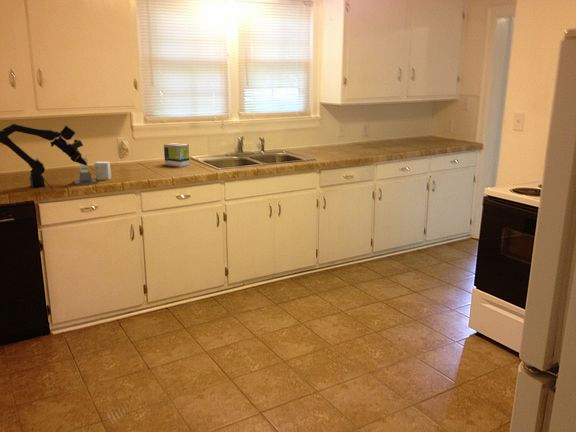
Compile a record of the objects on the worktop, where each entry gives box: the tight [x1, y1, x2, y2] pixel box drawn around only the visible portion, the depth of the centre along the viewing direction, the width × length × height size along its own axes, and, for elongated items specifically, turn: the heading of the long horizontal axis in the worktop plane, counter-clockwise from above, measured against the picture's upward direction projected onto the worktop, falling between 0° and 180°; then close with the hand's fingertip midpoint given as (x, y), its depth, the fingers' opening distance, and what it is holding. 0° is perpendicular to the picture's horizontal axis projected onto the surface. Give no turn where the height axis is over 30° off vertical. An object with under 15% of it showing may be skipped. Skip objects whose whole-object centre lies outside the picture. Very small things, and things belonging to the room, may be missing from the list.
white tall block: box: [79, 156, 89, 173], centre depth 319 cm, size 4×4×10 cm
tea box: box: [163, 142, 190, 168], centre depth 376 cm, size 15×10×15 cm, turn 58°
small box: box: [94, 161, 112, 181], centre depth 331 cm, size 8×6×10 cm
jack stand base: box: [73, 170, 98, 186], centre depth 321 cm, size 12×12×6 cm
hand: (85, 163), depth 319 cm, fingers open, 9 cm apart
